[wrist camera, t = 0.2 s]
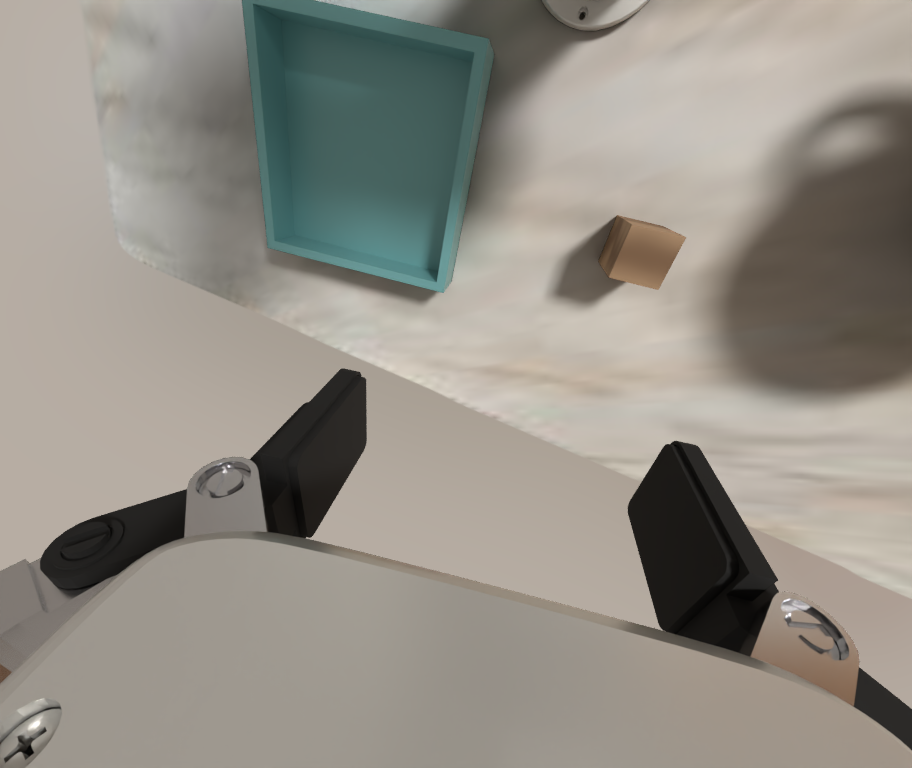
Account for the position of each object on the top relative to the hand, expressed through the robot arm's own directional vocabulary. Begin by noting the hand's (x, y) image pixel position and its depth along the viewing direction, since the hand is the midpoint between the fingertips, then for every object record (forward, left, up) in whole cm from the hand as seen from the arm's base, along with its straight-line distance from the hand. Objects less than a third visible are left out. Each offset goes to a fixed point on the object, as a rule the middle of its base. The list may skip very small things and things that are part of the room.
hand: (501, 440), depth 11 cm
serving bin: (-4, -19, -36) cm, 41 cm away
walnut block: (-2, +11, -36) cm, 38 cm away
